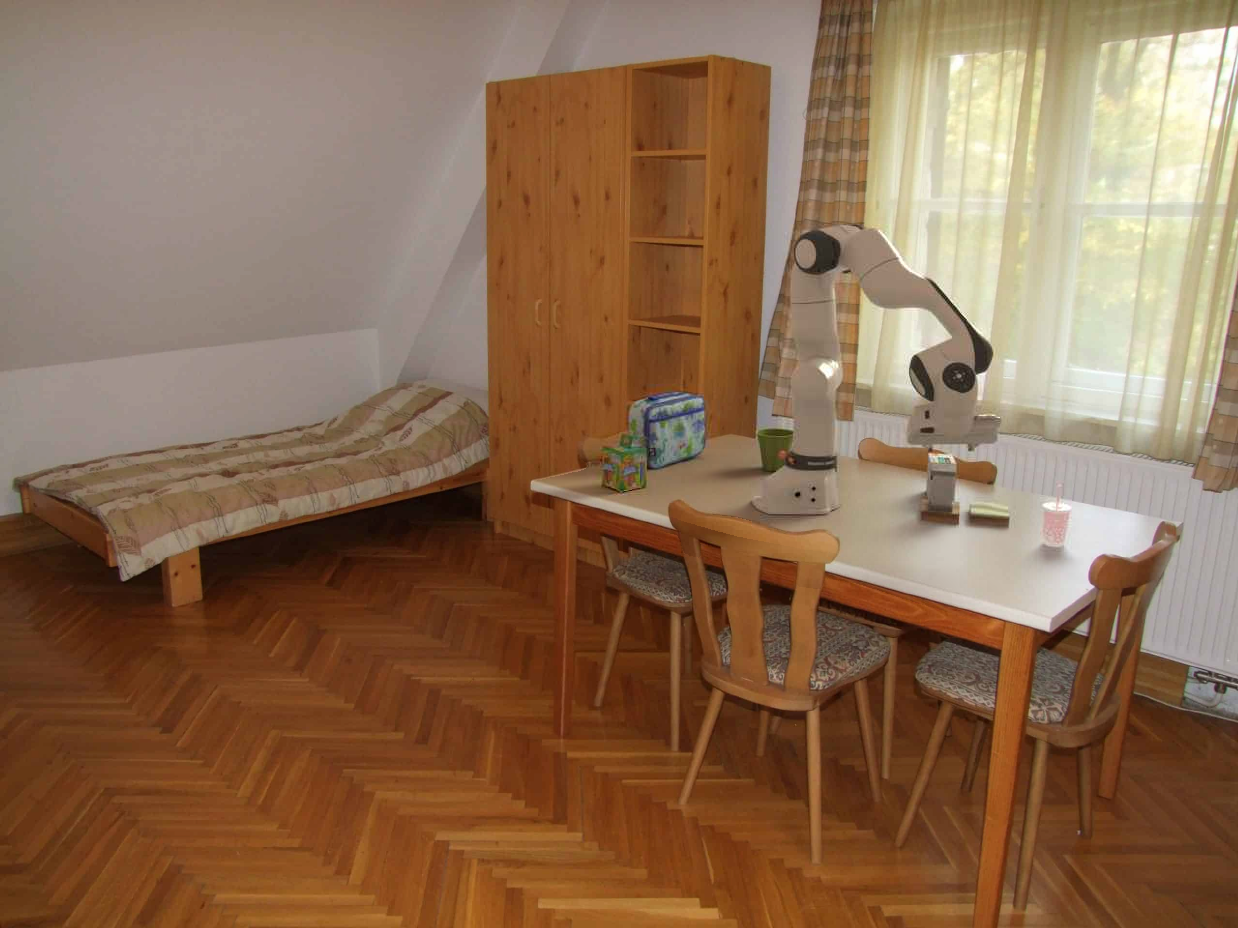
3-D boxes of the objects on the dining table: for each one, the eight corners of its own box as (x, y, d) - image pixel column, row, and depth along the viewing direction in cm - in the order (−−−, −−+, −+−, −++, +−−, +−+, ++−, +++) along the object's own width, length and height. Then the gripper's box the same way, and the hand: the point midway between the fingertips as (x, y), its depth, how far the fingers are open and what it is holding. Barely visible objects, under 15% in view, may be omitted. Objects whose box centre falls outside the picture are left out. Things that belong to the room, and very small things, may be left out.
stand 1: (958, 524, 255) (959, 514, 254) (920, 520, 258) (921, 511, 257) (958, 511, 265) (959, 501, 264) (922, 508, 268) (922, 499, 267)
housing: (952, 512, 256) (955, 472, 254) (928, 510, 258) (931, 470, 255) (952, 503, 264) (955, 464, 261) (929, 501, 265) (932, 462, 263)
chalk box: (601, 486, 290) (600, 434, 286) (627, 480, 295) (626, 430, 291) (621, 493, 283) (621, 440, 279) (647, 487, 288) (647, 435, 284)
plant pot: (801, 467, 308) (802, 430, 305) (785, 476, 298) (786, 438, 296) (764, 462, 314) (765, 426, 311) (747, 471, 305) (748, 433, 302)
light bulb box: (954, 503, 272) (957, 463, 270) (928, 501, 274) (931, 462, 271) (950, 492, 282) (953, 453, 280) (924, 490, 284) (927, 452, 281)
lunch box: (649, 472, 303) (649, 402, 298) (624, 466, 311) (623, 397, 306) (709, 457, 320) (710, 390, 315) (684, 451, 328) (685, 386, 323)
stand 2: (1008, 526, 253) (1009, 516, 252) (969, 523, 256) (970, 513, 255) (1006, 513, 263) (1007, 503, 263) (969, 510, 266) (970, 501, 265)
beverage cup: (1053, 549, 237) (1059, 490, 233) (1033, 541, 242) (1039, 483, 239) (1073, 545, 239) (1080, 487, 236) (1053, 537, 245) (1059, 480, 241)
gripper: (1001, 404, 234) (994, 437, 246) (907, 406, 239) (905, 438, 250) (1003, 427, 231) (996, 459, 243) (908, 429, 236) (906, 460, 247)
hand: (949, 449), depth 247 cm, fingers open, 8 cm apart
